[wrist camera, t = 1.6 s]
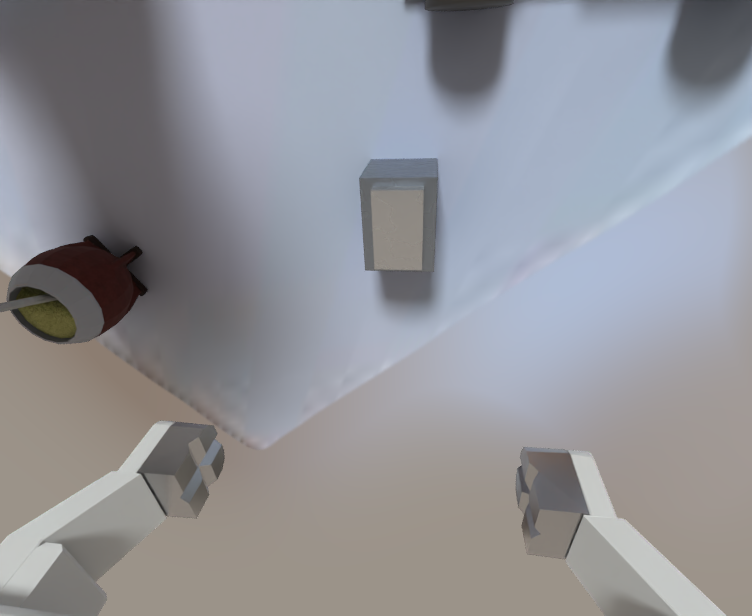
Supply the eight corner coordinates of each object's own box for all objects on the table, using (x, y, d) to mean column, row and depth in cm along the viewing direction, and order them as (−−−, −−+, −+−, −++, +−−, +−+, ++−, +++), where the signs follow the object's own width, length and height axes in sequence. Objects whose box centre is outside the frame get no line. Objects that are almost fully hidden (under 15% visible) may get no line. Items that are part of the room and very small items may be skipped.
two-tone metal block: (374, 240, 30) (363, 275, 26) (371, 159, 27) (357, 181, 22) (434, 241, 30) (433, 277, 25) (437, 158, 27) (437, 180, 22)
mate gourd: (126, 310, 37) (-30, 440, 25) (54, 243, 34) (-166, 352, 22) (177, 276, 34) (29, 404, 22) (103, 199, 31) (-117, 296, 19)
